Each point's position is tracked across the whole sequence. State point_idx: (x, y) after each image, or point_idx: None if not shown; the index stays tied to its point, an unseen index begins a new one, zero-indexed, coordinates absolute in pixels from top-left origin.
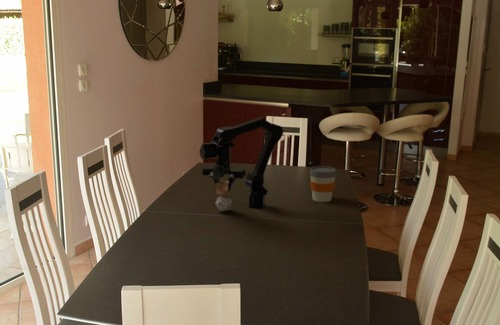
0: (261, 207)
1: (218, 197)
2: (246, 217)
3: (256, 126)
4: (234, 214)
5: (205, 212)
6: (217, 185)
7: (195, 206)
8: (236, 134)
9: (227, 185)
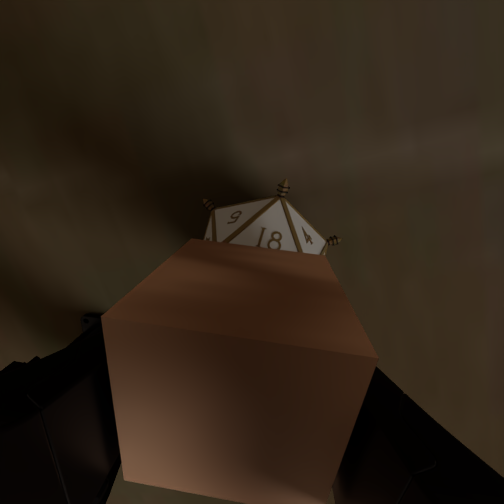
0: (87, 322)
1: None
2: (100, 162)
3: None
4: (186, 200)
5: (379, 194)
6: (341, 321)
7: (461, 292)
8: None
9: (122, 312)
